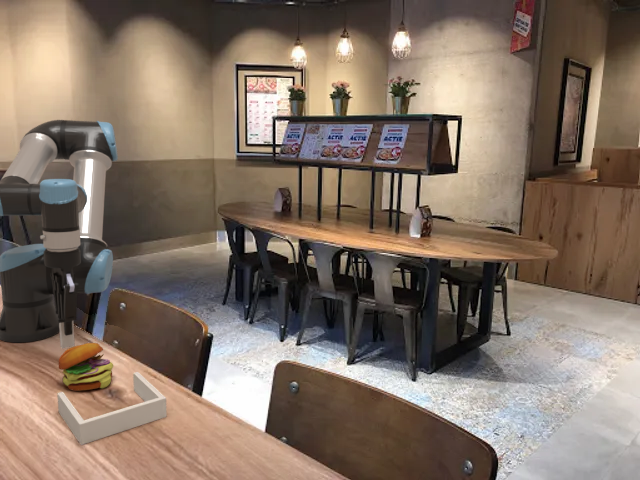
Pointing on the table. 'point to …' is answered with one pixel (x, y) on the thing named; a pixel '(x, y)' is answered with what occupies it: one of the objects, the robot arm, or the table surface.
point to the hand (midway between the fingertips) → (67, 346)
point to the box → (115, 414)
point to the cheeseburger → (85, 367)
